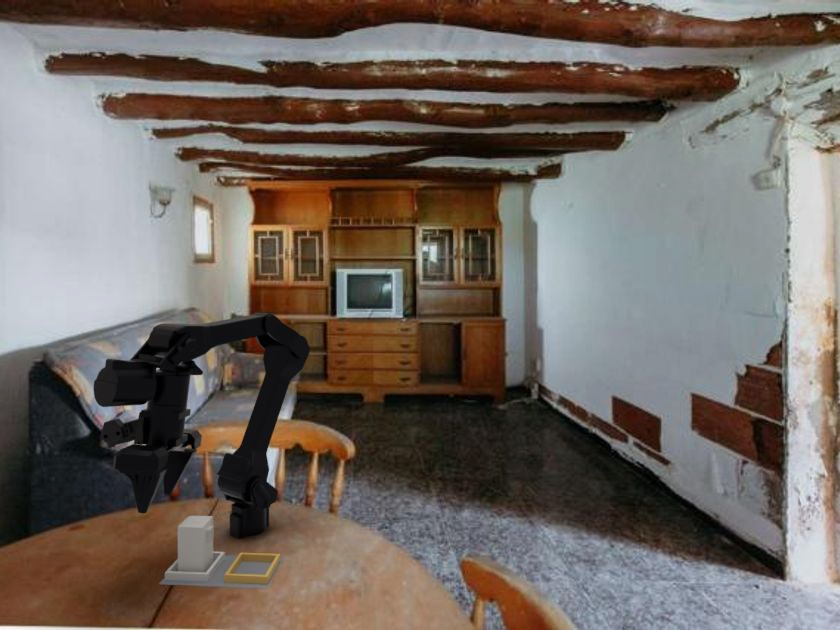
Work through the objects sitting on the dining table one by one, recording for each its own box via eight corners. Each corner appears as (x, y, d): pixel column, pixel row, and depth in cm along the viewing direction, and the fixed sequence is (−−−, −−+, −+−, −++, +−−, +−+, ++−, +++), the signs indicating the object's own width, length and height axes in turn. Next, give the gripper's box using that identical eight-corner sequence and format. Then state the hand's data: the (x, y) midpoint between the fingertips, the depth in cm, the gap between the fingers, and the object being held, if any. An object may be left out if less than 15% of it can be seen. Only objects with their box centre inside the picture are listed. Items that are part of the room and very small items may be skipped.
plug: (178, 575, 84) (177, 526, 83) (189, 561, 88) (189, 515, 87) (206, 576, 84) (206, 527, 83) (216, 562, 88) (216, 516, 87)
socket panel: (158, 587, 82) (158, 576, 81) (186, 557, 91) (186, 546, 90) (267, 592, 81) (267, 581, 81) (284, 560, 90) (284, 550, 90)
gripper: (142, 392, 92) (131, 482, 91) (81, 406, 73) (66, 519, 73) (207, 398, 93) (196, 487, 92) (162, 413, 74) (149, 525, 73)
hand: (155, 503), depth 82 cm, fingers open, 9 cm apart
